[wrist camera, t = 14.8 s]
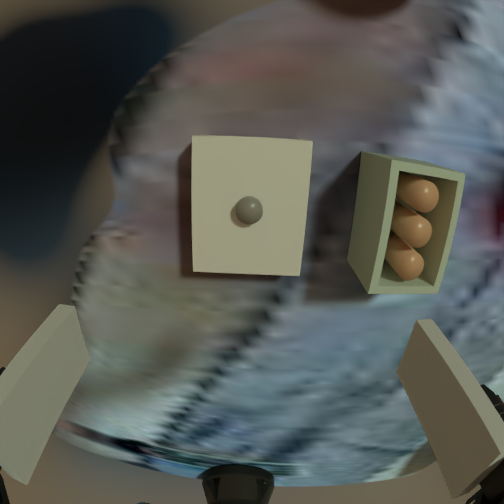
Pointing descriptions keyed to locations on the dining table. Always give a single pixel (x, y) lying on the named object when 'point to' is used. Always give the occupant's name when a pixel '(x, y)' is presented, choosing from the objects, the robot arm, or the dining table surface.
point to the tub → (403, 224)
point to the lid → (249, 204)
